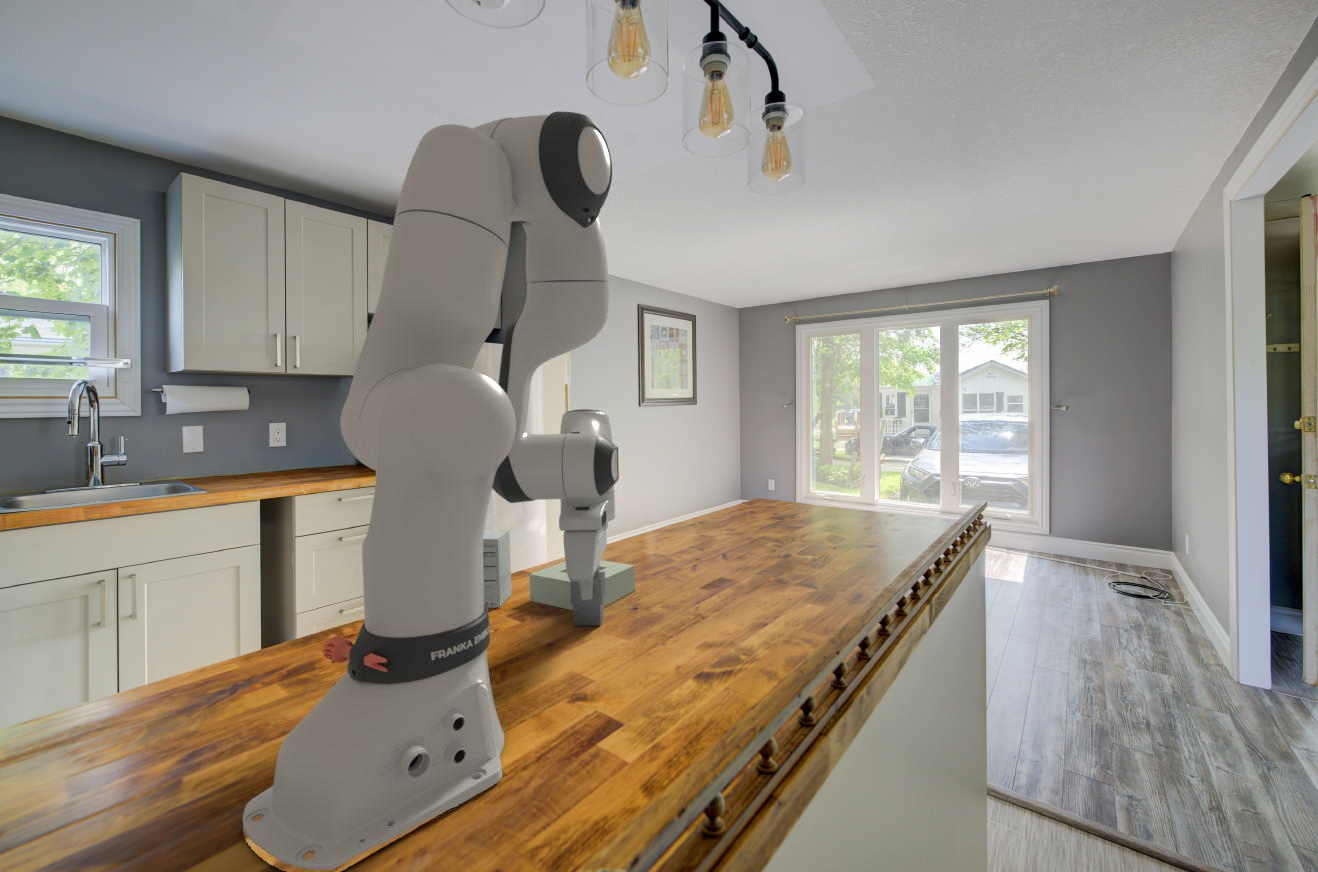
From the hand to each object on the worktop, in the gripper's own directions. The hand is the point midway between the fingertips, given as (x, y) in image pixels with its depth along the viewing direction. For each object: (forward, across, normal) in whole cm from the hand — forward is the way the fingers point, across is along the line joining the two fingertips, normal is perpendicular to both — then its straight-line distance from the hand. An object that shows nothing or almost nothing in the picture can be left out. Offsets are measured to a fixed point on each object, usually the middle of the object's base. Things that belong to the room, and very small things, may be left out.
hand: (590, 591), depth 91 cm
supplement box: (+5, -10, -21) cm, 24 cm away
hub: (+5, -12, -3) cm, 14 cm away
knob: (+5, 0, 0) cm, 5 cm away
